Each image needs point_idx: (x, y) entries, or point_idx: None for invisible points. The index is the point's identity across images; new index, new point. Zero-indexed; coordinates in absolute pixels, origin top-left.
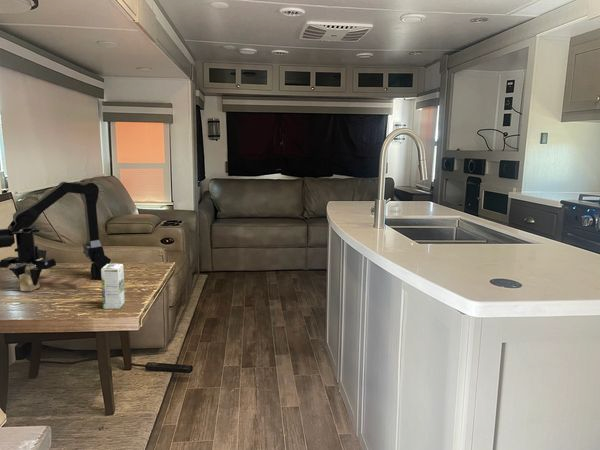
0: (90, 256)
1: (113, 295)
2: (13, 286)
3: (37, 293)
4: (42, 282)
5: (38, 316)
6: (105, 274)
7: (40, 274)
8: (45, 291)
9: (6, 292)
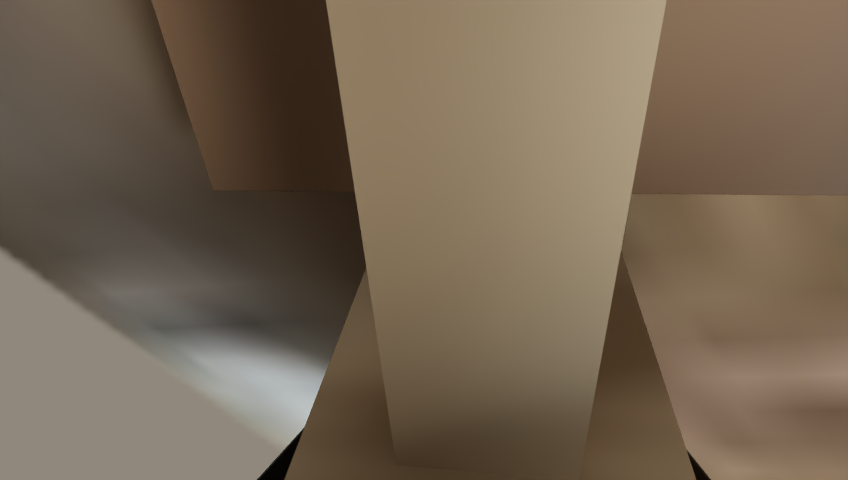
0: None
1: None
2: (17, 163)
3: (701, 417)
4: (665, 187)
5: None
6: None
7: (606, 223)
8: (811, 341)
9: (217, 395)
